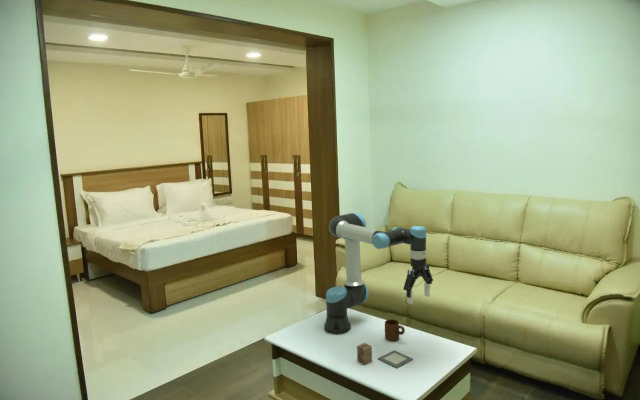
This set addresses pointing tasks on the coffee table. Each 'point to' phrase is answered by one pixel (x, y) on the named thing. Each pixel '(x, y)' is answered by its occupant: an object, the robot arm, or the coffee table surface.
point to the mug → (393, 330)
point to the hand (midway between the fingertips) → (418, 299)
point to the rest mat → (395, 359)
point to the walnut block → (364, 353)
